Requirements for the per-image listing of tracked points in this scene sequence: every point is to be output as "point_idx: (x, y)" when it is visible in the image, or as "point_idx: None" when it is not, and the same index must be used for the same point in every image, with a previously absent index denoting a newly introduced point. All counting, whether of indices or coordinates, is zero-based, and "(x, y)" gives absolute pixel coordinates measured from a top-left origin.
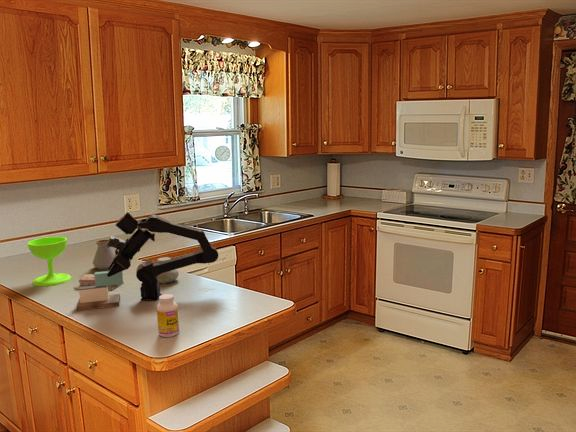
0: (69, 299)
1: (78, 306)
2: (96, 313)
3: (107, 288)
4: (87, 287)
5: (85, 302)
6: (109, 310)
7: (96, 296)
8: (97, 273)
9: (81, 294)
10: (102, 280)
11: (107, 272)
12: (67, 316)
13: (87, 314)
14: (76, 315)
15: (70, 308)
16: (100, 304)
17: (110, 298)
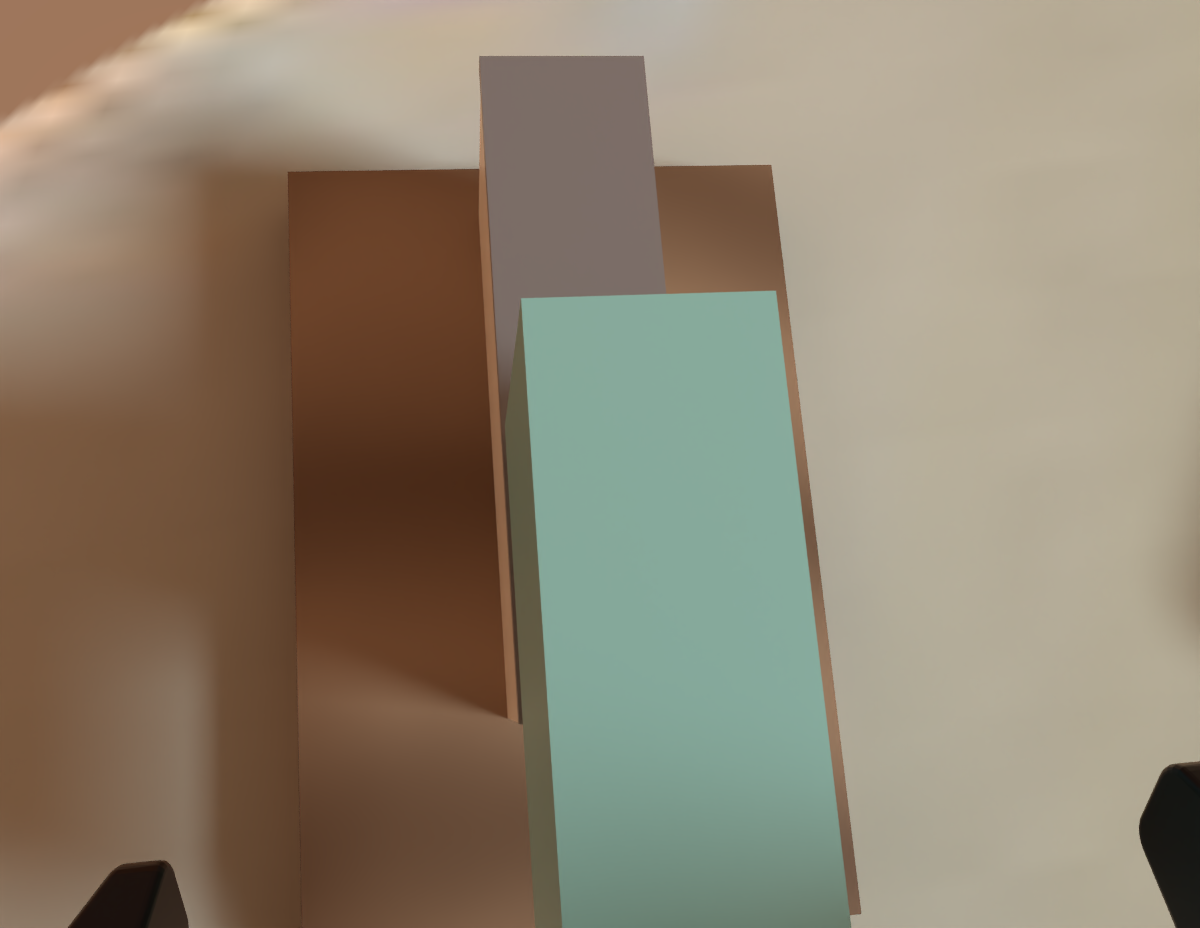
0: (909, 25)
1: (292, 203)
2: (15, 563)
3: None
4: (562, 232)
5: (483, 296)
6: (100, 793)
7: (497, 480)
8: (598, 407)
9: (482, 165)
10: (526, 607)
11: (625, 810)
12: (48, 96)
13: (22, 408)
14: (43, 230)
15: (450, 92)
16: (297, 594)
17: None
